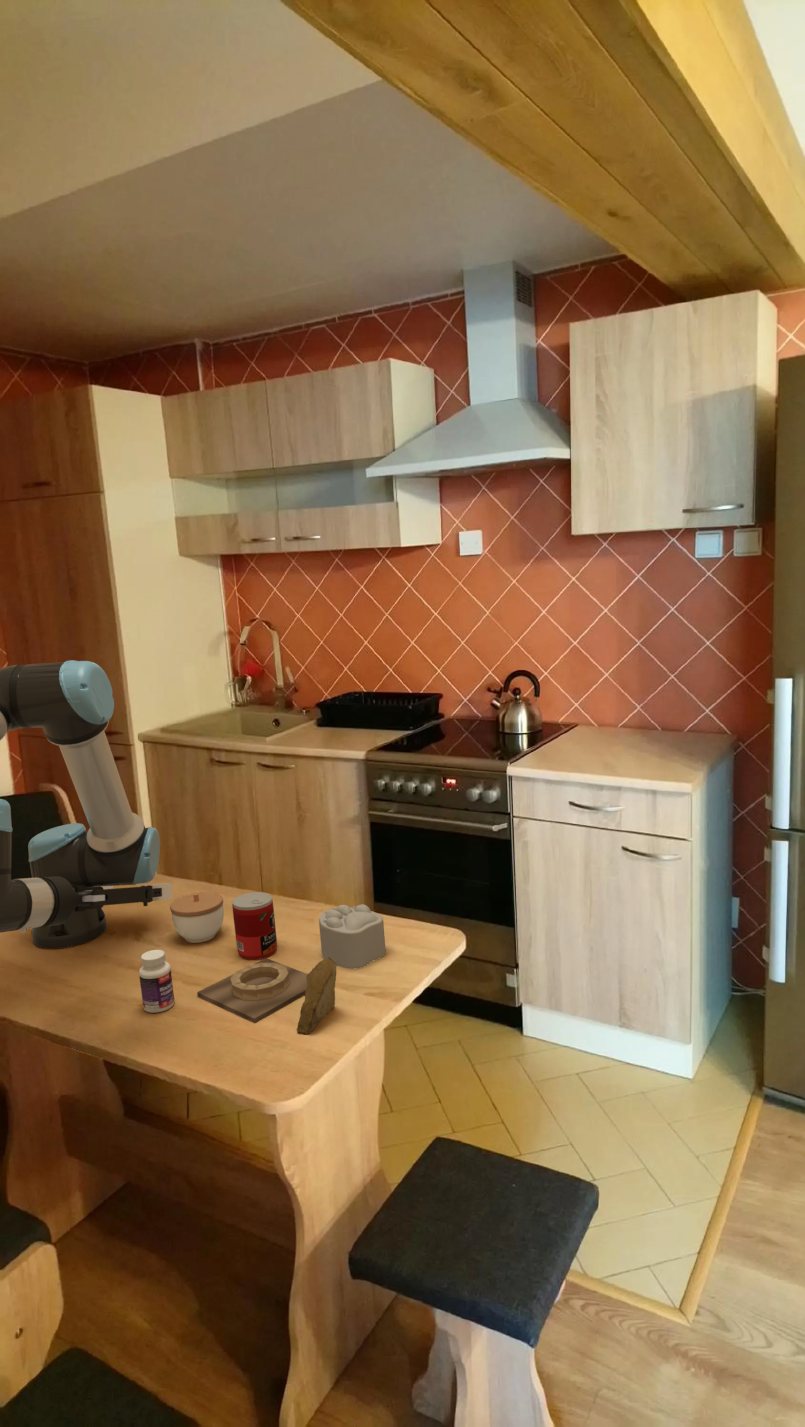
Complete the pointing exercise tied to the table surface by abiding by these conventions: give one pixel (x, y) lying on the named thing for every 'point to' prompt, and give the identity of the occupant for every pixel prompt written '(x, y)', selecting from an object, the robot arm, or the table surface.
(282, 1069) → the table surface
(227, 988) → the ring plate
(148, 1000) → the pill bottle
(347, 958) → the lumpy-topped squat cylinder
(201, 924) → the lidded jar
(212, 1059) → the table surface
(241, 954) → the canned food
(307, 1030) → the rock
